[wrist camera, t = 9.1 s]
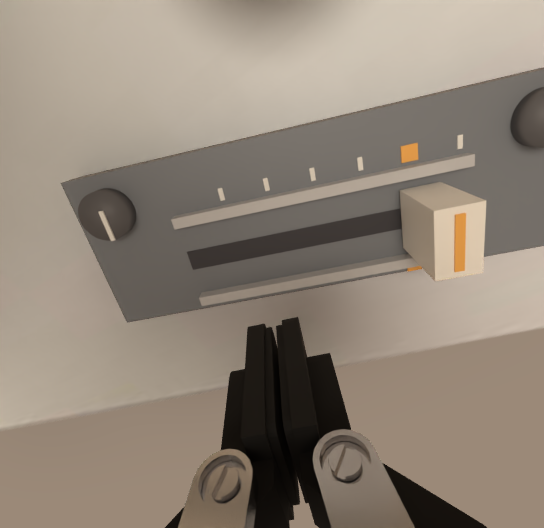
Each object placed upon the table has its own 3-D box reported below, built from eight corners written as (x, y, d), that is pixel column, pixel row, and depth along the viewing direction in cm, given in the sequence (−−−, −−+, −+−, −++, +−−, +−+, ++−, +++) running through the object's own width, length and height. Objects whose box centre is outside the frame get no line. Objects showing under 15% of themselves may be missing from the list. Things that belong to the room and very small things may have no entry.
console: (81, 176, 24) (48, 187, 20) (557, 64, 20) (614, 53, 17) (139, 305, 28) (119, 332, 25) (537, 230, 25) (580, 248, 21)
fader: (399, 190, 21) (434, 211, 16) (440, 181, 21) (487, 201, 16) (403, 247, 22) (435, 282, 18) (440, 240, 22) (484, 273, 18)
